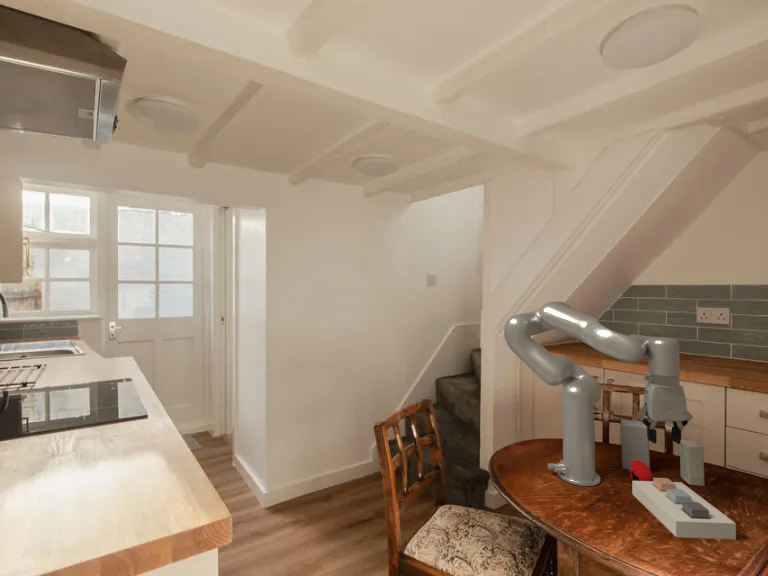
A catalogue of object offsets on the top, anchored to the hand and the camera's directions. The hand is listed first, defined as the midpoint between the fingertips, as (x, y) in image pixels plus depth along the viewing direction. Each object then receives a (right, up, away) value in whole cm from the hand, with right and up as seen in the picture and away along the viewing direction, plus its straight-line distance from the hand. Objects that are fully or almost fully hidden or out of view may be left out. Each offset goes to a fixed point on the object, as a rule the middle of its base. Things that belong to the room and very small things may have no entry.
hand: (664, 441), depth 123 cm
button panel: (-1, -18, -7) cm, 19 cm away
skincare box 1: (+5, -18, +23) cm, 29 cm away
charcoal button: (-1, -15, -14) cm, 20 cm away
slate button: (-1, -15, -7) cm, 16 cm away
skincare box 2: (+17, -18, +13) cm, 28 cm away
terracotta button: (0, -15, 0) cm, 15 cm away
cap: (+1, -18, +13) cm, 22 cm away
